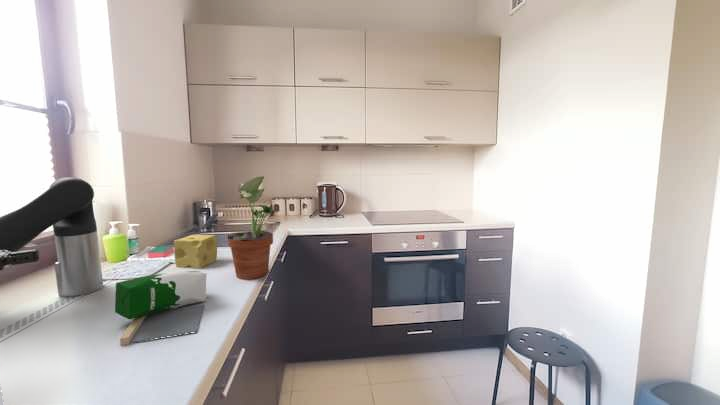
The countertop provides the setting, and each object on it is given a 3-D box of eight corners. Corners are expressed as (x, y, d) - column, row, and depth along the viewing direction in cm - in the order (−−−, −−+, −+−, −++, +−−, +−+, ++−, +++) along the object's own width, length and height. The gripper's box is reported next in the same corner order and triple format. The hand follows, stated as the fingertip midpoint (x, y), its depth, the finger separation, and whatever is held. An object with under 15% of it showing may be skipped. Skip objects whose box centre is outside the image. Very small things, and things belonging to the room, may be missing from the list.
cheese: (199, 269, 112) (197, 241, 111) (173, 267, 114) (171, 240, 113) (218, 260, 122) (216, 234, 121) (194, 258, 124) (192, 233, 123)
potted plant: (286, 271, 109) (282, 168, 105) (249, 285, 97) (243, 169, 92) (256, 263, 118) (251, 168, 113) (219, 275, 105) (211, 169, 101)
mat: (120, 345, 65) (119, 338, 65) (141, 314, 78) (141, 309, 78) (196, 332, 70) (195, 326, 70) (204, 306, 83) (203, 300, 83)
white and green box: (112, 315, 75) (195, 295, 92) (130, 325, 70) (214, 302, 87) (114, 278, 74) (196, 264, 91) (132, 285, 70) (215, 269, 87)
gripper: (-85, 285, 58) (46, 264, 69) (-127, 311, 48) (35, 283, 59) (-94, 245, 57) (41, 230, 68) (-138, 263, 47) (29, 243, 58)
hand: (38, 255), depth 63 cm, fingers closed
